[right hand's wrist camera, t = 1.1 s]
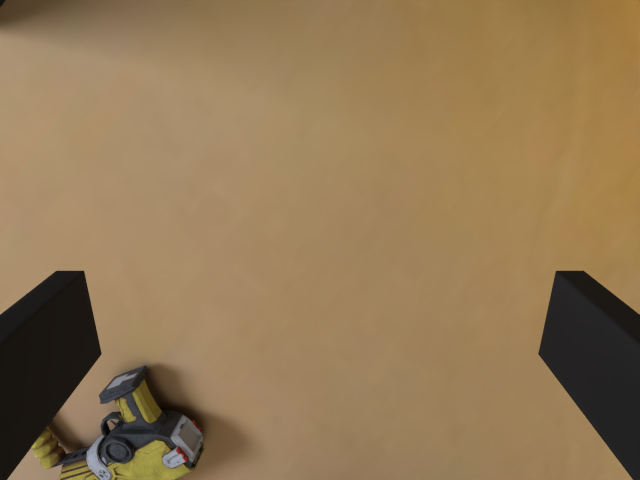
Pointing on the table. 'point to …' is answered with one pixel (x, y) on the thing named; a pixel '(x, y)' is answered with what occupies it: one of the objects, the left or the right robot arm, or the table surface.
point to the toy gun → (130, 439)
